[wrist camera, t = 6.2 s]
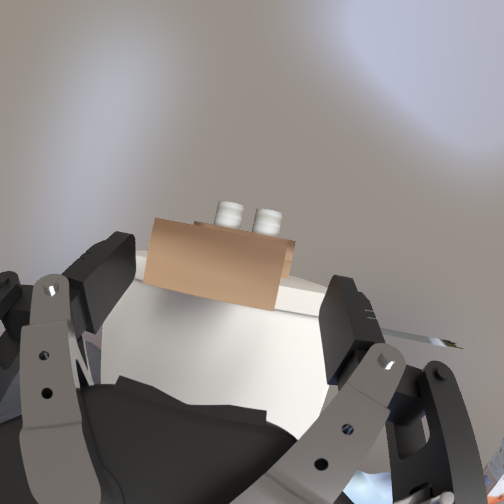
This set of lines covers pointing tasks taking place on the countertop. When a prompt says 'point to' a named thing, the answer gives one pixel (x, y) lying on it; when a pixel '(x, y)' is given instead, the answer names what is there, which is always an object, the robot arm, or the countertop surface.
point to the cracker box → (495, 476)
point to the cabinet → (222, 349)
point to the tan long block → (221, 257)
